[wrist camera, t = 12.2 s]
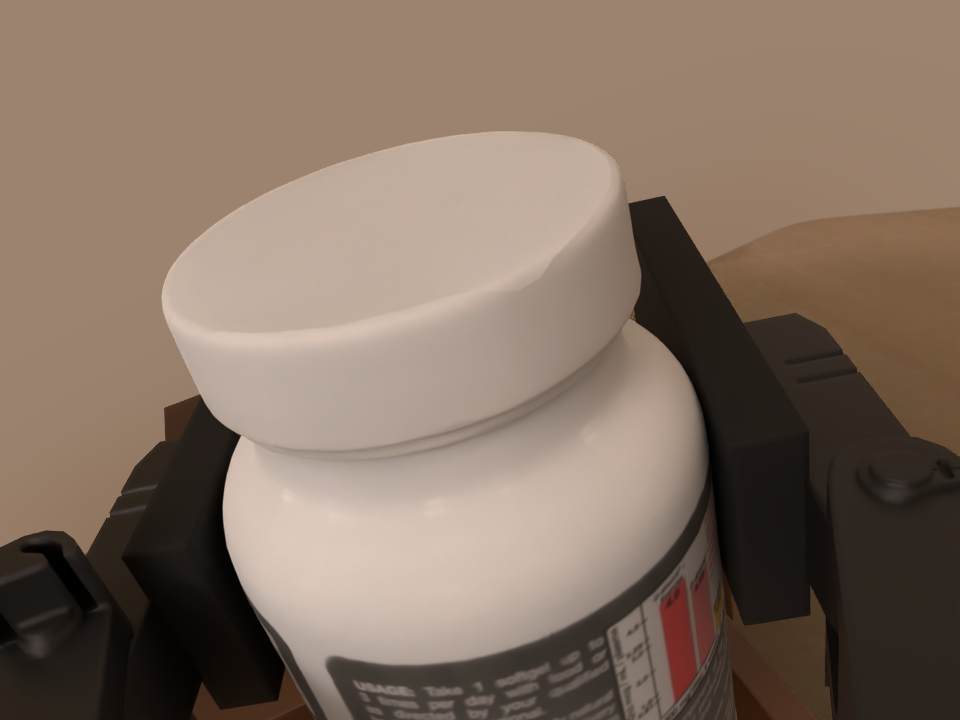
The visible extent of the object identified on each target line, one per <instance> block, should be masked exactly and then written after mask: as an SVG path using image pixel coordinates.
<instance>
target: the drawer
mask: <svg viewBox="0 0 960 720" xmlns="http://www.w3.org/2000/svg"><path fill="white" fill-rule="evenodd" d="M726 619H727V629H728V639H729V649H730V660H731V670H732V681H733V691H734V700H735V707H736V714H737V720H818V718H817V717H816V716H815V715H814V714H813V713H812V711H811V710H810V709H809V708H808V707H807V706H806V705H805V703H804V702H803V701H802V700H801V699H800V698H799V697H798V695H797V694H796V693H795V692H794V691H793V690H792V689H791V687H790V686H789V685H788V684H787V683H786V682H785V681H784V679H783V678H782V677H781V676H780V675H779V674H778V673H777V671H776V670H775V669H774V668H773V667H772V666H771V665H770V663H769V662H768V661H767V660H766V659H765V658H764V657H763V655H762V654H761V653H760V652H759V651H758V650H757V649H756V647H755V646H754V645H753V644H752V643H751V642H750V641H749V639H748V638H747V637H746V636H745V635H744V634H743V633H742V631H741V630H740V629H739V628H738V627H737V626H736V625H735V623H734V622H733V621H732V620H731V619H730V618H729V617H728V615H727V614H726Z"/></svg>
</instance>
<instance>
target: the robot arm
mask: <svg viewBox="0 0 960 720" xmlns="http://www.w3.org/2000/svg"><path fill="white" fill-rule="evenodd" d="M628 205H629V211H630V217H631V224H632V231H633V237H634V242H635V248H636V253H637V258H638V261H639V265H640V269H641V286H640V295H639V297H638V299H637V301H636V304H635V306H634V311H635V318H636V323H637V324H639V325H640V326H642V327H643V328H645V329H646V330H648V331H649V332H650V333H652V334H653V335H654V336H655V337H657V338H658V339H659V340H660V341H661V342H662V343H663V344H664V345H665V346H666V347H667V348H668V350H669V351H670V352H671V353H672V354H673V355H674V356H675V358H676V359H677V360H678V361H679V362H680V364H681V365H682V367H683V369H684V370H685V372H686V374H687V375H688V377H689V379H690V381H691V382H692V384H693V386H694V389H695V392H696V394H697V397H698V399H699V402H700V405H701V408H702V411H703V415H704V421H705V427H706V432H707V438H708V443H709V448H710V453H711V464H712V477H713V488H714V497H715V506H716V518H717V528H718V538H719V547H720V556H721V565H722V567H723V570H724V573H725V575H726V578H727V581H728V583H729V586H730V589H731V592H732V594H733V597H734V600H735V602H736V605H737V608H738V610H739V613H740V616H741V619H742V621H743V624H744V626H746V625H753V624H759V623H765V622H771V621H778V620H784V619H790V618H796V617H803V616H809V615H810V585H811V587H812V589H813V591H814V593H815V595H816V597H817V599H818V601H819V603H820V605H821V607H822V609H823V611H824V614H825V616H826V638H825V686H830V696H831V707H832V717H833V720H960V457H959V456H957V455H956V454H954V453H953V452H951V451H950V450H948V449H947V448H946V447H944V446H941V445H938V444H935V443H932V442H929V441H926V440H923V439H920V438H916V437H911V436H910V435H909V434H908V433H907V431H906V430H905V429H904V427H903V426H902V425H901V424H900V422H899V421H898V420H897V419H896V417H895V416H894V415H893V413H892V412H891V411H890V410H889V408H888V407H887V406H886V405H885V403H884V402H883V401H882V400H881V398H880V397H879V396H878V394H877V393H876V392H875V391H874V389H873V388H872V387H871V386H870V384H869V383H868V382H867V380H866V379H865V378H864V377H863V375H862V374H861V373H860V372H859V373H858V372H857V368H856V367H855V365H854V364H853V363H852V361H851V360H850V359H849V358H848V356H847V355H846V354H844V355H843V351H842V349H841V347H840V346H839V345H838V344H837V342H836V341H835V340H834V339H833V337H832V336H831V335H830V334H829V332H828V331H827V330H826V328H824V327H822V326H820V325H818V324H816V323H814V322H812V321H810V320H808V319H806V318H804V317H802V316H801V315H799V314H797V313H793V314H788V315H783V316H778V317H772V318H767V319H762V320H757V321H752V322H747V323H743V322H742V321H741V319H740V318H739V316H738V314H737V313H736V311H735V309H734V308H733V306H732V305H731V303H730V301H729V300H728V298H727V296H726V295H725V293H724V292H723V290H722V288H721V287H720V285H719V283H718V282H717V280H716V279H715V277H714V275H713V274H712V272H711V270H710V269H709V267H708V266H707V264H706V262H705V261H704V259H703V257H702V256H701V254H700V253H699V251H698V249H697V248H696V246H695V244H694V243H693V241H692V240H691V238H690V236H689V235H688V233H687V231H686V230H685V228H684V227H683V225H682V223H681V222H680V220H679V218H678V217H677V215H676V214H675V212H674V210H673V209H672V207H671V206H670V204H669V202H668V201H667V199H666V197H665V196H661V197H656V198H652V199H647V200H642V201H638V202H633V203H629V204H628ZM240 437H241V435H240V434H237V433H236V432H234V431H233V430H231V429H229V428H228V427H226V426H225V425H223V424H222V423H221V422H220V421H219V420H218V419H217V418H216V417H214V416H213V414H212V413H211V411H210V410H209V408H208V407H207V405H206V404H205V402H204V400H203V398H202V396H201V398H200V400H199V402H198V404H197V406H196V408H195V410H194V412H193V414H192V416H191V418H190V420H189V422H188V424H187V426H186V428H185V430H184V432H183V434H182V436H181V438H177V439H172V440H167V441H162V442H159V443H158V444H157V445H156V446H155V447H154V448H153V449H152V450H151V451H150V452H149V453H148V454H147V455H146V456H145V457H144V458H143V459H142V460H141V461H140V462H139V463H138V464H137V465H136V466H135V468H134V469H133V471H132V473H131V475H130V476H129V478H128V480H127V482H126V484H125V485H124V487H123V489H122V491H121V493H122V496H120V497H118V498H117V500H116V502H115V504H114V506H113V507H112V509H111V511H110V518H106V520H105V522H104V524H103V526H102V527H101V529H100V531H99V533H98V535H97V536H96V538H95V540H94V542H93V544H92V545H91V547H90V549H89V551H88V553H87V554H86V556H85V554H84V553H83V552H82V550H81V549H80V547H79V546H78V544H77V543H76V541H75V540H74V539H73V538H72V537H70V536H69V535H68V534H66V533H65V532H63V531H43V532H39V533H35V534H31V535H27V536H23V537H21V538H19V539H17V540H15V541H13V542H11V543H9V544H7V545H5V546H2V547H0V720H197V718H196V717H195V715H194V714H193V712H192V711H193V708H194V705H195V702H196V699H197V696H198V692H199V689H200V686H201V683H203V684H204V686H205V687H206V689H207V690H208V692H209V693H210V695H211V697H212V698H213V700H214V701H215V703H216V704H217V706H218V707H219V709H220V710H224V709H230V708H236V707H243V706H249V705H255V704H261V703H268V702H274V701H278V699H279V694H280V690H281V685H282V681H283V676H284V672H285V665H284V663H283V661H282V659H281V658H280V656H279V654H278V653H277V651H276V649H275V648H274V646H273V644H272V643H271V641H270V638H269V636H268V634H267V633H266V631H265V629H264V627H263V626H262V624H261V622H260V621H259V619H258V617H257V615H256V613H255V611H254V610H253V608H252V606H251V605H250V603H249V602H248V599H247V597H246V594H245V592H244V590H243V587H242V585H241V583H240V580H239V578H238V575H237V573H236V570H235V568H234V565H233V563H232V560H231V557H230V554H229V551H228V548H227V545H226V538H225V532H224V524H223V498H224V489H225V483H226V477H227V473H228V469H229V465H230V462H231V458H232V455H233V453H234V451H235V448H236V446H237V444H238V442H239V439H240Z"/></svg>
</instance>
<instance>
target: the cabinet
mask: <svg viewBox="0 0 960 720" xmlns="http://www.w3.org/2000/svg"><path fill="white" fill-rule="evenodd" d="M200 398H201V394H200V395H197V396H195V397H192V398H189V399H187V400H184V401H181V402H179V403H176V404H173V405H171V406H168V407H165V408H164V417H165V441H167V440H172V439H177V438H181V436H182V434H183V432H184V430H185V428H186V426H187V424H188V422H189V420H190V418H191V416H192V414H193V412H194V410H195V408H196V406H197V404H198V402H199V400H200ZM721 567H722V565H721ZM722 578H723V588H724V598H725V608H726V614H727V615H728V617H729V618H730V619H731V620H732V621H733V612H732V599H731V589H730V586H729V583H728V581H727V578H726V575H725V573H724V570H723V567H722ZM192 712H193V714H194V715H195V717H196V718H197V720H314V719H313V717H312V715H311V713H310V711H309V709H308V707H307V705H306V703H305V701H304V700H303V698H302V696H301V694H300V693H299V691H298V689H297V687H296V685H295V683H294V681H293V679H292V678H291V676H290V674H289V672H288V670H287V669H286V667H285V672H284V676H283V681H282V685H281V690H280V694H279V699H278V701H274V702H268V703H261V704H255V705H249V706H243V707H236V708H230V709H224V710H220V709H219V707H218V706H217V704H216V703H215V701H214V700H213V698H212V697H211V695H210V693H209V692H208V690H207V689H206V687H205V686H204V684H203V683H201V686H200V689H199V692H198V696H197V699H196V702H195V705H194V708H193V711H192Z"/></svg>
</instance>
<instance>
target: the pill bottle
mask: <svg viewBox="0 0 960 720" xmlns="http://www.w3.org/2000/svg"><path fill="white" fill-rule="evenodd" d="M640 286H641V269H640V265H639V261H638V258H637V253H636V248H635V242H634V237H633V231H632V224H631V217H630V211H629V205H628V200H627V194H626V189H625V183H624V179H623V176H622V173H621V170H620V168H619V166H618V163H617V162H616V161H615V160H614V159H613V158H612V157H611V156H610V155H609V154H608V153H607V152H605V151H604V150H603V149H602V148H600V147H597V146H596V145H594V144H592V143H590V142H587V141H584V140H581V139H578V138H574V137H570V136H564V135H558V134H551V133H545V132H523V131H504V132H503V131H501V132H484V133H472V134H463V135H454V136H449V137H442V138H436V139H431V140H425V141H420V142H415V143H410V144H404V145H400V146H397V147H393V148H389V149H385V150H381V151H377V152H373V153H370V154H367V155H363V156H360V157H357V158H353V159H350V160H347V161H344V162H341V163H338V164H335V165H331V166H328V167H326V168H323V169H321V170H319V171H316V172H313V173H311V174H309V175H306V176H304V177H301V178H299V179H296V180H294V181H292V182H289V183H287V184H284V185H283V186H280V187H278V188H276V189H274V190H272V191H270V192H267V193H265V194H263V195H262V196H260V197H258V198H256V199H254V200H252V201H251V202H249V203H247V204H245V205H243V206H241V207H240V208H238V209H236V210H235V211H233V212H232V213H230V214H229V215H227V216H226V217H224V218H223V219H221V220H220V221H219V222H217V223H216V224H214V225H213V226H211V227H210V228H209V229H208V230H207V231H206V232H204V233H203V234H202V235H201V236H200V237H198V238H197V239H196V240H195V241H193V242H192V243H191V244H190V245H189V246H188V248H187V249H186V250H185V251H184V252H183V253H182V254H181V255H180V256H179V258H178V259H177V260H176V261H175V263H174V264H173V265H172V267H171V269H170V271H169V272H168V274H167V276H166V280H165V281H164V286H163V292H162V307H163V312H164V316H165V319H166V321H167V324H168V326H169V329H170V331H171V333H172V335H173V337H174V339H175V341H176V343H177V346H178V348H179V350H180V352H181V354H182V357H183V359H184V361H185V363H186V365H187V367H188V369H189V371H190V374H191V376H192V378H193V380H194V382H195V384H196V386H197V388H198V390H199V392H200V394H201V396H202V398H203V400H204V402H205V404H206V405H207V407H208V408H209V410H210V411H211V413H212V414H213V416H214V417H216V418H217V419H218V420H219V421H220V422H221V423H222V424H223V425H225V426H226V427H228V428H229V429H231V430H233V431H234V432H236V433H237V434H240V435H241V437H240V439H239V442H238V444H237V446H236V448H235V451H234V453H233V455H232V458H231V462H230V465H229V469H228V473H227V477H226V483H225V489H224V498H223V524H224V532H225V538H226V545H227V548H228V551H229V554H230V557H231V560H232V563H233V565H234V568H235V570H236V573H237V575H238V578H239V580H240V583H241V585H242V587H243V590H244V592H245V594H246V597H247V599H248V602H249V603H250V605H251V606H252V608H253V610H254V611H255V613H256V615H257V617H258V619H259V621H260V622H261V624H262V626H263V627H264V629H265V631H266V633H267V634H268V636H269V638H270V641H271V643H272V644H273V646H274V648H275V649H276V651H277V653H278V654H279V656H280V658H281V659H282V661H283V663H284V665H285V667H286V669H287V670H288V672H289V674H290V676H291V678H292V679H293V681H294V683H295V685H296V687H297V689H298V691H299V693H300V694H301V696H302V698H303V700H304V701H305V703H306V705H307V707H308V709H309V711H310V713H311V715H312V717H313V719H314V720H737V714H736V707H735V700H734V691H733V681H732V670H731V660H730V649H729V639H728V629H727V619H726V608H725V598H724V588H723V578H722V567H721V556H720V547H719V538H718V528H717V518H716V506H715V497H714V488H713V477H712V464H711V453H710V448H709V443H708V438H707V432H706V427H705V421H704V415H703V411H702V408H701V405H700V402H699V399H698V397H697V394H696V392H695V389H694V386H693V384H692V382H691V381H690V379H689V377H688V375H687V374H686V372H685V370H684V369H683V367H682V365H681V364H680V362H679V361H678V360H677V359H676V358H675V356H674V355H673V354H672V353H671V352H670V351H669V350H668V348H667V347H666V346H665V345H664V344H663V343H662V342H661V341H660V340H659V339H658V338H657V337H655V336H654V335H653V334H652V333H650V332H649V331H648V330H646V329H645V328H643V327H642V326H640V325H639V324H637V323H636V322H634V321H633V320H631V319H629V318H630V315H631V313H632V311H633V308H634V306H635V304H636V301H637V299H638V297H639V295H640Z"/></svg>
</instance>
